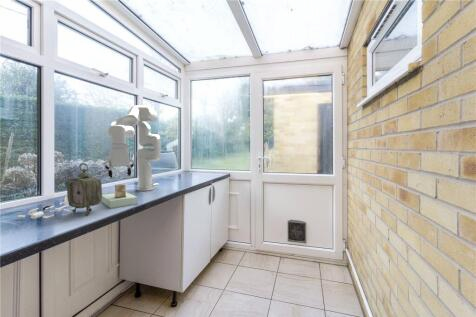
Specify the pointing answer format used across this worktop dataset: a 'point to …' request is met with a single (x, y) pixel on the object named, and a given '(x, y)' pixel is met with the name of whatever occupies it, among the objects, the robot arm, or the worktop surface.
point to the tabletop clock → (84, 191)
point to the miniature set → (36, 214)
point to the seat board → (118, 200)
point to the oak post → (120, 191)
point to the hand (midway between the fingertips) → (120, 176)
